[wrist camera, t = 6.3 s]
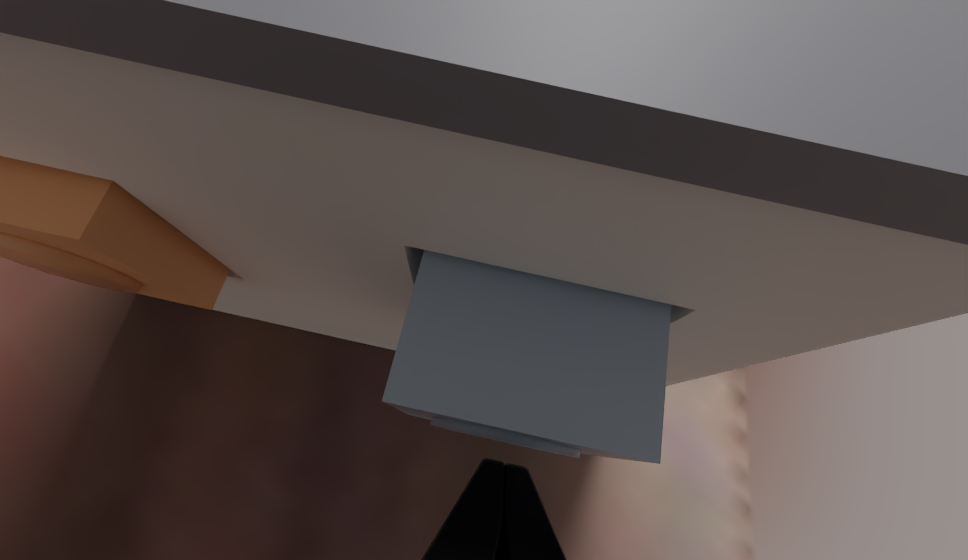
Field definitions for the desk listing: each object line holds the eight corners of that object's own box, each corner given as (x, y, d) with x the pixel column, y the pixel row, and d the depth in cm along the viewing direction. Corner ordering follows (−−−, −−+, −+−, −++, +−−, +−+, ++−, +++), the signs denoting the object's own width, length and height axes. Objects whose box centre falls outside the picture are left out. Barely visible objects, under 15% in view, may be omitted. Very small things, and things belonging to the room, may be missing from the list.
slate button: (581, 460, 11) (659, 474, 7) (406, 421, 11) (379, 410, 7) (601, 305, 12) (675, 239, 8) (445, 270, 12) (441, 187, 8)
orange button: (209, 316, 12) (73, 247, 7) (44, 278, 12) (-184, 190, 7) (267, 183, 13) (180, 62, 9) (119, 150, 13) (-37, 15, 9)
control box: (616, 405, 18) (1347, 259, 3) (128, 295, 18) (-1258, -311, 3) (635, 223, 21) (1076, -293, 6) (213, 130, 21) (-353, -595, 6)
